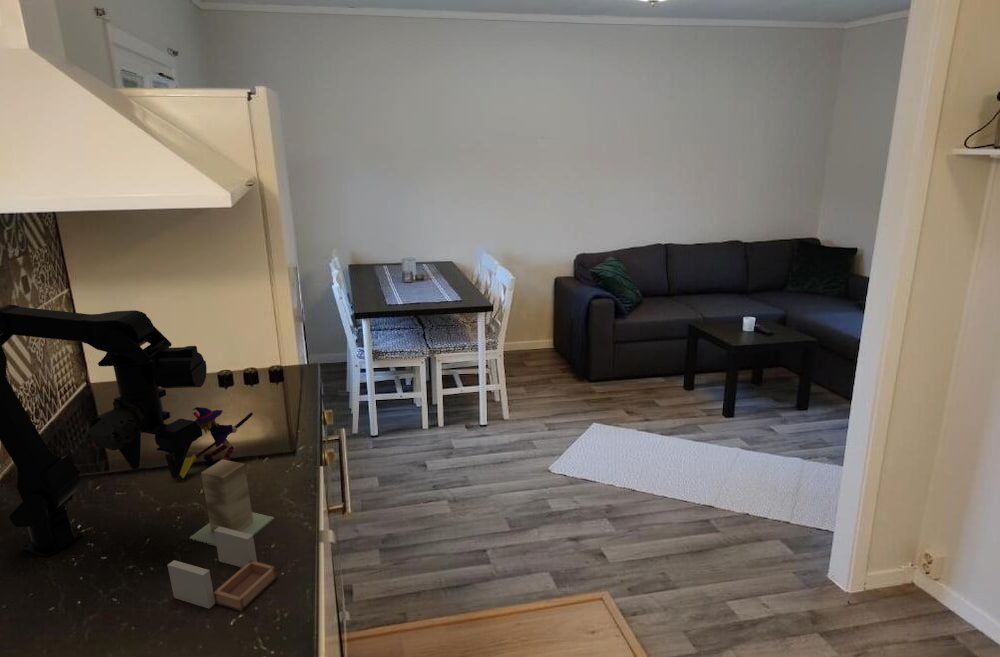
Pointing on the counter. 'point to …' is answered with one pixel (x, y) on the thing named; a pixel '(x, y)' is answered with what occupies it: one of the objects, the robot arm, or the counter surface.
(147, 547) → the counter surface
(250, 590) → the tray
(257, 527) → the green mat
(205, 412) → the toy
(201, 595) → the channel
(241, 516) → the beech post
